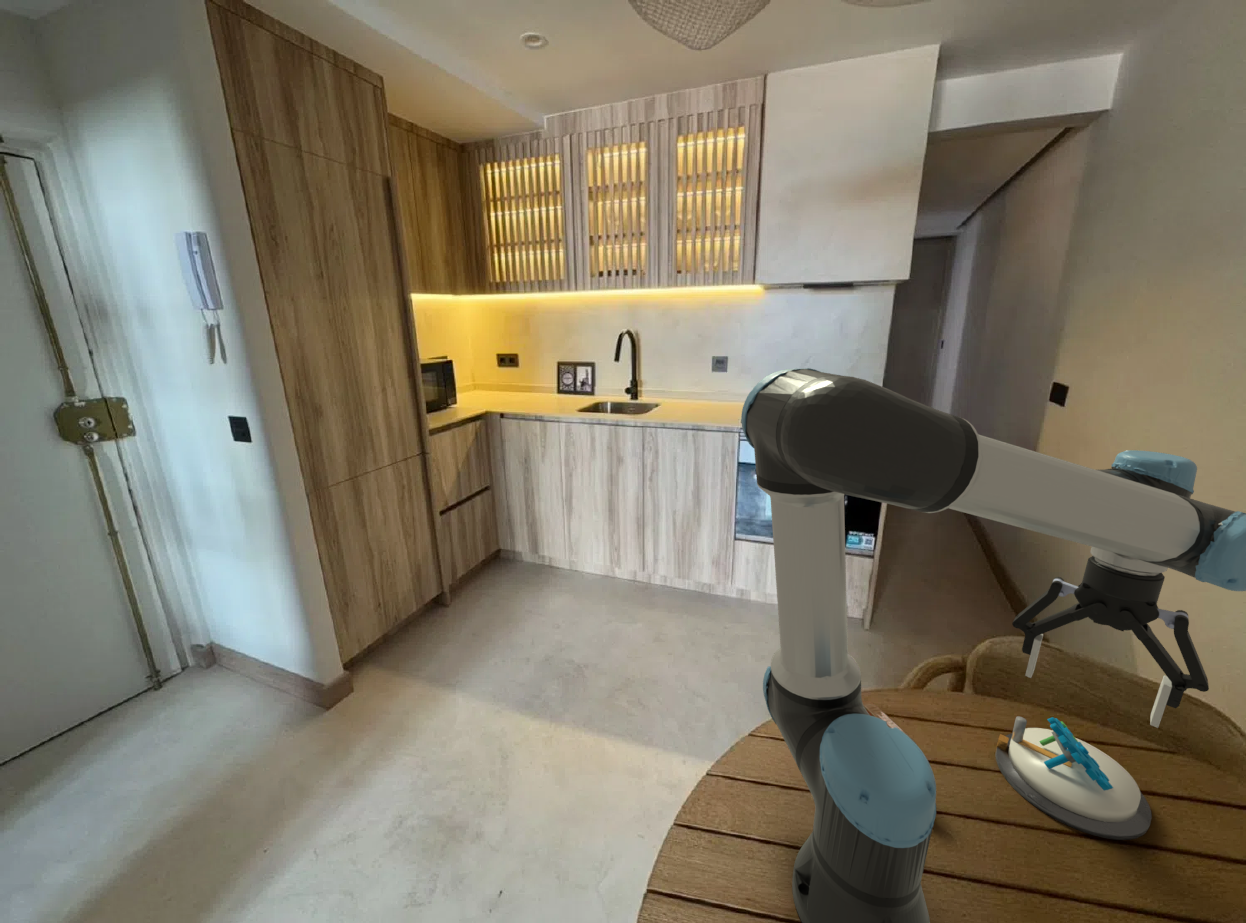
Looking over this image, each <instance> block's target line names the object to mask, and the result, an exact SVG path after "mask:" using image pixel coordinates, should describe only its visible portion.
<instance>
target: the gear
mask: <svg viewBox="0 0 1246 923" xmlns="http://www.w3.org/2000/svg"><path fill="white" fill-rule="evenodd" d="M1047 721H1048V723H1049V724H1050V725H1049V727H1050V729H1051V730H1053V732H1052V734H1053V736H1050V737H1048V738H1046V739H1043V740H1041V741H1039V742H1040V743H1041V745H1042V746H1045V745H1047V744H1049V743H1052V742H1054V741H1056V742H1057V743H1058V745H1059V747H1060V749H1061V751H1062V752H1063V754H1062V755H1059V756H1057V757H1054V758H1052V759H1049V760H1047V761H1044V763H1045V765H1046V766H1047V767H1048V768H1049V769H1051V768H1053V767H1056V766H1058V765H1061V764H1063V763H1066V762H1068V761H1070V762H1071V763H1073V762H1077V763H1078V764H1082V765H1083V766H1084V767H1085V769H1086V770H1085V772H1086V773H1087V774H1088V775H1089V777H1090V778H1091V779H1092V780H1093V781H1094V780H1096V782H1097V783H1098V785H1099V786H1100V787H1101V788H1102V789H1103V790H1104V791H1105V790H1109V789H1112V788H1113V787H1112V785H1111V784H1110V783H1109V782H1108V781H1109V779H1108V777H1107V776H1106V775H1105V774H1104V773H1103V772H1102V771H1101V770H1100V769H1099V767H1100V766H1099V765H1098V763H1097V762H1096V761H1095V760H1094V759H1093V758H1092V757H1091V756H1090V755H1089V754H1088V753H1089V752H1088V751H1087V749H1086V748H1085V747H1084V746H1083V745H1082V744H1081V743H1080V742H1078V741H1077V740H1076V737H1075V736H1074V734H1073V733H1072V732H1071V730H1070V729H1069V728H1068V726H1067V724H1065V722H1064V721H1062V720H1061V721H1060V720H1059V719H1058V718H1055V717H1053V716H1052V717H1050V718H1047ZM1067 748H1068V749H1067Z"/></svg>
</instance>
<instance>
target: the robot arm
mask: <svg viewBox="0 0 1246 923" xmlns="http://www.w3.org/2000/svg"><path fill="white" fill-rule="evenodd" d="M740 421H741V422H740V423H741V428H742V431H743V435H744V437H745V438H746V441H747V443H748V444H749V445H750V446H751V447H752V448H753V449H754V450H753V451H754V461H755V475H756V485H757V487H758V488H759V489H760V490H762V491H763V492H764V493H766V494H767V495H768V496H769V497H770V510H771V511H770V512H771V526H772V540H773V541H772V542H773V554H774V568H775V582H776V583H775V585H776V600H777V611H778V612H777V613H778V627H779V628H778V629H779V642H780V644H779V645H780V647H779V648H778V649H777V650H776V651H775V652H774V653H773V655H772V657H771V661H770V666H767V668H766V670H765V673H764V676H763V681H762V692H763V697H764V701H765V704H766V708H767V711H768V713H769V715H770V717H771V719H772V720H773V722H774V724H775V725H776V726H777V728H778V730H779V732H780V733H781V734H780V735H781V736H782V738H783V740H784V743H785V744H786V746H787V748H788V749H789V752H790V753H791V756H792V758H793V760H794V761H795V764H796V767H797V768H798V770H799V772H800V774H801V775H802V778H803V780H804V782H805V783H806V785H807V787H808V790H809V792H810V794H811V796H812V799H813V802H814V806H815V807H814V816H813V817H814V818H813V825H812V826H813V827H812V832H811V833H810V834H809V835H808V838H807V839H806V840H805V841H804V843H803V844H802V846H801V848H800V849H799V850H798V853H797V855H796V858H795V860H794V866H793V871H792V881H791V882H792V883H791V884H792V887H791V890H792V897H793V902H794V906H795V909H796V912H797V915H798V917H799V919H800V921H801V923H931V921H930V915H929V910H928V907H927V903H926V899H925V895H924V892H923V887H922V878H923V873H924V870H925V864H926V860H927V856H928V851H929V846H930V842H931V837H932V836H931V835H932V834H933V833H932V832H933V828H934V824H935V819H936V817H937V816H936V815H937V802H936V799H937V784H936V778H935V775H934V772H933V769H932V767H931V764H930V762H929V760H928V758H927V756H925V753H924V752H923V751H922V749H921V748H920V747H919V745H918V744H917V743H916V742H914V741H915V740H914V739H913V738H912V737H911V738H912V739H913V740H914V741H913V740H912V739H911V738H909V737H908V736H907V735H906V734H905V733H904V732H902V731H901V730H900V729H898V728H897V727H894V728H889V727H888V726H887V722H886V721H884V720H882V719H879V718H877V717H874V716H870V715H869V713H868V712H867V711H866V709H865V708H864V706H863V703H862V701H863V699H862V674H861V673H862V672H861V668H860V665H859V663H858V662H857V661H856V659H855V658H854V657H853V656H852V655H851V654H850V653H849V650H848V648H849V647H848V645H849V644H848V607H847V604H848V603H847V571H846V570H847V569H846V568H847V566H846V530H845V529H846V527H845V526H846V525H845V495H847V496H851V497H855V498H861V499H865V500H870V501H875V502H879V503H884V504H887V505H893V506H896V507H900V508H904V509H909V510H913V511H916V512H920V513H927V514H933V513H936V514H937V513H939V512H942V511H945V510H947V509H950V510H953V511H957V512H960V513H966V514H969V515H972V516H977V517H980V518H983V519H988V520H991V521H995V522H998V523H1003V524H1006V525H1010V526H1013V527H1018V528H1022V529H1025V530H1029V531H1031V532H1036V533H1040V534H1043V535H1046V536H1047V535H1048V536H1051V537H1054V538H1058V539H1062V540H1066V541H1070V542H1074V543H1077V544H1081V545H1085V546H1088V547H1091V548H1090V552H1089V553H1090V554H1091V556H1090V557H1088V559H1087V563H1086V566H1085V569H1084V573H1083V577H1082V580H1081V583H1080V584H1078V585H1075V584H1071V583H1069V582H1066V581H1065V579H1064V578H1062V577H1060V576H1056V577H1054V578H1053V579H1052V583H1051V584H1050V586H1049V588H1048V589H1047V590H1046V591H1045V592H1044V593H1042V594H1040V596H1039V597H1038V598H1036V599H1035V600H1034V601H1032V602H1031V603H1030V604H1029V605H1028V606H1026V608H1024V609H1023V610H1022V611H1020V612H1019V613H1018V614H1017V615H1016V616H1014V617H1015V618H1014V619H1013V621H1012V622H1011V625H1012V626H1013V628H1015V629H1019V630H1021V631H1022V632H1023V634H1024V637H1023V638H1024V639H1023V643H1022V648H1021V651H1022V654H1023V653H1024V654H1027V655H1029V659H1028V662H1027V666H1026V671H1025V675H1024V677H1028V678H1030V679H1032V677H1033V675H1034V672H1035V669H1036V666H1037V661H1038V657H1039V653H1040V650H1041V645H1042V641H1043V637H1044V634H1045V633H1047V632H1051V631H1052V630H1053V631H1054V630H1055V629H1058V628H1061V627H1063V626H1065V625H1069V624H1071V623H1073V622H1076V621H1077V622H1078V621H1081V620H1084V619H1086V618H1088V619H1090V620H1091V621H1092V622H1093V623H1094V624H1098V625H1101V626H1108V627H1111V628H1113V629H1114V630H1116V631H1121V632H1124V631H1132V633H1133V635H1134V636H1135V637H1136V638H1137V639H1138V640H1139V642H1141V643H1142V645H1143V646H1144V647H1145V649H1146V650H1147V651H1148V653H1149V654H1150V655H1151V657H1152V658H1153V660H1154V661H1155V662H1156V664H1158V667H1159V668H1160V669H1161V671H1163V673H1164V674H1165V675H1163V677H1162V680H1161V682H1160V685H1159V688H1158V691H1157V694H1156V697H1155V700H1154V703H1153V706H1152V709H1151V712H1150V719H1149V721H1150V723H1149V725H1150V726H1151V727H1155V728H1157V729H1158V728H1159V726H1160V723H1161V720H1162V718H1163V715H1164V712H1165V709H1166V706H1168V707H1170V708H1173V709H1177V708H1178V707H1180V704H1181V701H1182V698H1183V695H1184V693H1185V692H1186V691H1187V690H1189V689H1192V690H1193V689H1194V690H1197V691H1199V692H1203V693H1204V692H1209V689H1210V688H1209V678H1208V677H1207V674H1206V671H1205V669H1204V667H1203V664H1202V662H1201V660H1200V657H1199V655H1198V651H1197V649H1196V647H1195V645H1194V642H1193V640H1192V638H1191V635H1190V632H1189V625H1190V620H1189V614H1188V612H1187V611H1185V610H1183V609H1177V610H1175V611H1171V610H1167V609H1162V608H1159V606H1158V601H1159V598H1160V594H1161V592H1162V587H1163V585H1164V581H1165V577H1166V576H1165V575H1164V574H1163V573H1165V572H1167V571H1168V569H1171V570H1173V571H1177V572H1179V573H1182V574H1185V575H1188V576H1189V577H1192V578H1194V579H1195V580H1197V581H1199V582H1202V583H1208V584H1211V585H1214V586H1215V587H1219V588H1222V589H1225V590H1228V591H1233V592H1246V512H1243V511H1239V510H1237V511H1235V510H1231V509H1228V508H1224V507H1220V506H1216V505H1213V504H1210V503H1206V502H1203V501H1200V500H1196V499H1193V498H1191V496H1192V495H1194V492H1195V490H1194V487H1195V486H1194V485H1195V482H1196V477H1197V472H1198V467H1197V466H1198V465H1197V464H1196V462H1194V461H1193V460H1191V459H1189V458H1188V457H1184V456H1181V455H1175V454H1170V453H1165V452H1157V451H1150V450H1149V451H1148V450H1136V449H1134V450H1133V449H1132V450H1124V451H1121V452H1119V453H1117V455H1115V459H1114V461H1113V463H1111V468H1106V469H1094V468H1090V467H1088V466H1084V465H1081V464H1079V463H1078V464H1077V463H1075V462H1074V463H1073V462H1070V461H1068V460H1065V459H1062V458H1061V459H1060V458H1058V457H1055V456H1051V455H1048V454H1045V453H1040V452H1038V451H1034V450H1031V449H1027V448H1025V447H1022V446H1017V445H1015V444H1011V443H1008V442H1004V441H1001V440H999V439H995V438H992V437H988V436H985V435H981V434H979V433H978V431H977V429H976V428H975V426H974V425H973V424H972V423H971V422H970V421H969V420H967V419H965V418H962V417H960V416H957V415H955V414H950V413H947V412H944V411H942V410H938V409H936V408H934V407H931V406H928V405H926V404H924V403H921V402H918V401H917V400H913V399H911V398H909V397H906V396H904V395H903V394H900V393H898V392H895V391H893V390H891V389H889V388H887V387H884V386H882V385H880V384H877V383H874V382H871V381H869V380H866V379H863V378H860V377H855V376H848V375H840V374H835V373H829V372H824V371H823V372H822V371H820V370H817V369H814V368H811V367H807V368H806V367H805V368H797V367H796V368H788V369H787V368H786V369H782V370H778V371H775V372H773V373H771V374H768V375H767V376H765V377H763V378H762V379H761V380H760V381H759V382H757V383H756V384H755V386H754V387H753V388H752V389H751V390H750V392H749V393H748V395H747V397H746V398H745V400H744V403H743V406H742V410H741V419H740ZM1069 594H1072V595H1074V597H1075V600H1076V601H1077V603H1076V604H1072V605H1071V607H1067V608H1065V609H1063V610H1061V611H1059V612H1055V613H1054V614H1051V615H1049V616H1045V617H1044V618H1042V619H1039V620H1035V622H1032V621H1031V620H1033V619H1034V618H1035V617H1036V616H1038V615H1039V614H1041V613H1042V612H1043V611H1045V609H1046V608H1048V607H1049V606H1050V605H1052V604H1053V603H1054V602H1055V601H1056V600H1057V599H1058V597H1063V598H1065V597H1066V596H1068V595H1069ZM1157 619H1160V620H1162V621H1163V622H1164V625H1165V626H1166V627H1167V628H1169V629H1171V630H1173V635H1174V638H1175V641H1176V643H1177V647H1178V649H1179V651H1180V654H1181V656H1182V658H1183V660H1184V661H1183V662H1184V663H1185V666H1186V668H1187V671H1188V673H1189V674H1187V673H1184V671H1182V669H1181V668H1180V666H1179V665H1178V664H1177V662H1176V661H1175V660H1174V658H1173V657H1172V656H1171V654H1170V653H1169V652H1168V651H1167V649H1166V648H1165V647H1164V645H1163V644H1162V643H1161V641H1160V640H1159V639H1158V637H1157V636H1156V635H1155V633H1154V632H1153V630H1152V628H1151V627H1150V625H1149V623H1151V622H1153V621H1155V620H1157ZM916 744H917V745H916Z"/></svg>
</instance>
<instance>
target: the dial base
mask: <svg viewBox="0 0 1246 923" xmlns="http://www.w3.org/2000/svg"><path fill="white" fill-rule="evenodd" d="M1011 737H1012V733H1009V734H1006V735H1003V734H1001V733H1000V734H999V736H998V739H997V743H996V747H995V748H996V749H995V761H996V764H997V767H998V769H999V772H1001V774H1002V776H1003V777H1004V779H1005V780H1006V781H1007V783H1009V785H1010V786H1011V787H1012V788H1013V789H1014V790H1015V791H1016V793H1018V794H1019V795H1020V796H1021V797H1022V798H1023V799H1024V800H1026V801H1027V802H1029V803H1030V805H1032V806H1034V807H1036V809H1038V810H1039V811H1041V812H1043V813H1044V814H1045V815H1047V816H1049V817H1051V818H1053V819H1054V820H1056V821H1058V822H1060V823H1062V824H1064V825H1065V826H1066V825H1067V826H1068V827H1070V828H1072V829H1075V830H1077V831H1078V832H1079V831H1080V832H1082V833H1086V834H1089V835H1092V836H1095V837H1099V838H1103V839H1108V840H1116V841H1129V840H1135V839H1138V838H1140V837H1142V836H1144V835H1145V834H1147V831H1148V830H1149V828H1150V826H1151V823H1152V822H1151V821H1152V817H1153V816H1152V810H1151V807H1150V804H1149V802H1148V801H1147V799H1146V796H1144V794H1143V793H1142V792H1141V791H1140V793H1141V799H1140V803H1139V806H1138V809H1137V812H1136V814H1135V815H1134V817H1132V818H1131V819H1129V820H1127V821H1123V822H1104V821H1099V820H1094V819H1091V818H1087V817H1084V816H1081V815H1078V814H1076V813H1074V812H1071V811H1069V810H1067V809H1065V808H1063V807H1061V806H1059V805H1057V804H1055V803H1054V802H1052V801H1050V800H1049V799H1047V798H1045V797H1044V796H1042V795H1041V794H1040V793H1038V792H1037V791H1036V790H1034V789H1033V788H1032V787H1031V786H1030V785H1028V784H1027V783H1026V782H1025V781H1024V780H1023V779H1022V778H1021V777H1020V775H1019V774H1018V773H1017V772H1016V770H1015V769H1014V767H1013V766H1012V764H1011V762H1010V759H1009V755H1008V750H1009V746H1010V741H1011Z"/></svg>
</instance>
